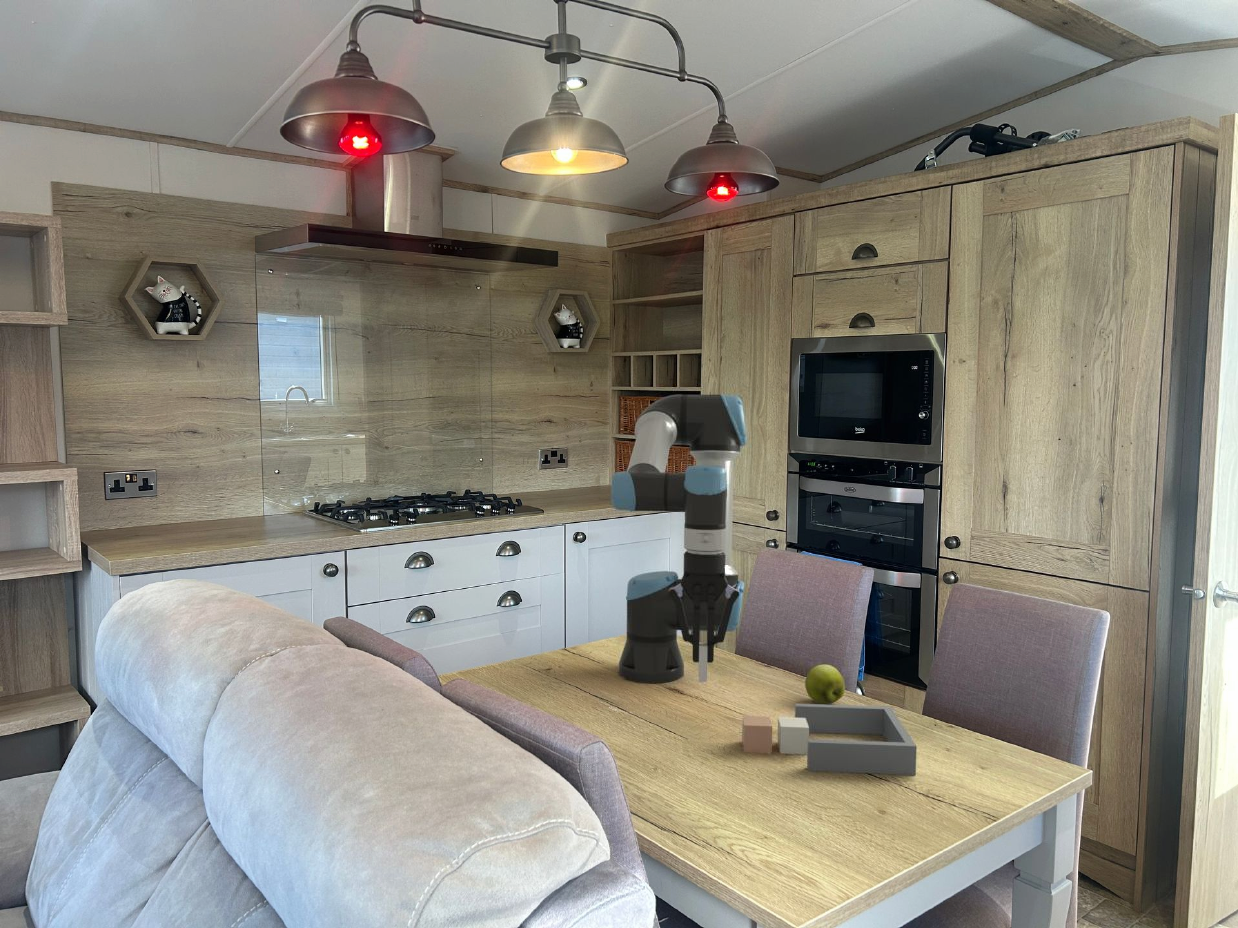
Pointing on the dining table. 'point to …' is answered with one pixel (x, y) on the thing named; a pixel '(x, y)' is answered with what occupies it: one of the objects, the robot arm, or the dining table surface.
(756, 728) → the tile
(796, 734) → the tile
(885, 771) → the box
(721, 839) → the dining table surface
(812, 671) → the apple
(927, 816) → the dining table surface
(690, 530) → the robot arm
